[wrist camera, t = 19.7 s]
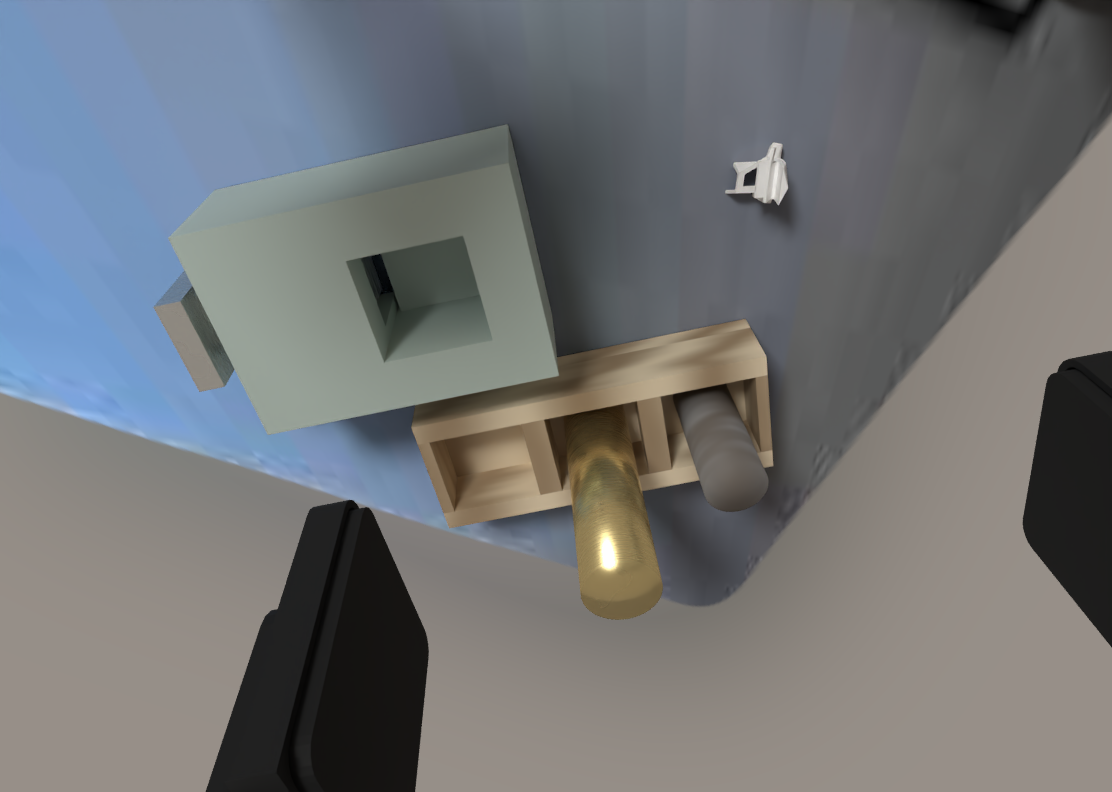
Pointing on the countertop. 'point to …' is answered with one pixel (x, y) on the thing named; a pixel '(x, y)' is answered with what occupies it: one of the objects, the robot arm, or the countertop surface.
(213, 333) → the t-shaped push slider
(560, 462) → the rack
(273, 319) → the socket block
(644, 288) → the countertop surface
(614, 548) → the gold cylindrical peg
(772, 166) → the adhesive hook
